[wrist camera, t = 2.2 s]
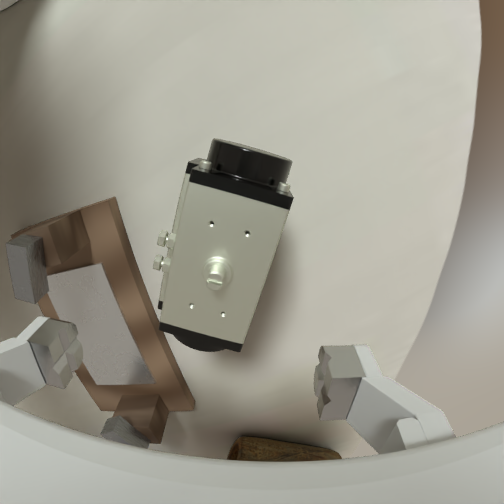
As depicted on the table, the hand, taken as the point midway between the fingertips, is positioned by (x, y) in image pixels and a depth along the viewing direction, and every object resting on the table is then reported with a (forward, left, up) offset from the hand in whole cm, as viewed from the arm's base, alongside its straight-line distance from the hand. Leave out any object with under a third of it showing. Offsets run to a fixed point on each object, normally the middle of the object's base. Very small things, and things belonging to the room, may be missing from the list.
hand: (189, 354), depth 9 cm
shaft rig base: (+12, -13, -17) cm, 24 cm away
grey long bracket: (+12, -13, -15) cm, 23 cm away
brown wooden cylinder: (+31, +8, -17) cm, 36 cm away
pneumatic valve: (0, 0, -17) cm, 17 cm away
